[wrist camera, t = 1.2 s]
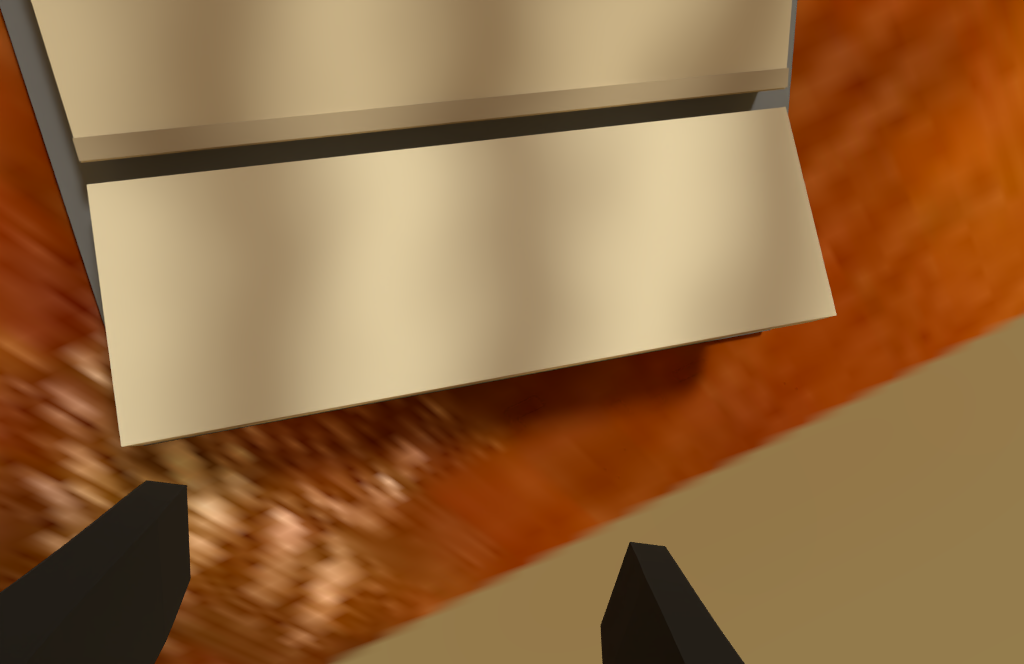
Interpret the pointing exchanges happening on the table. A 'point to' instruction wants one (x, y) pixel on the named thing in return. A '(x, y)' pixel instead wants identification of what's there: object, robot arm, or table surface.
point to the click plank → (445, 266)
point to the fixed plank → (385, 64)
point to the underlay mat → (79, 174)
